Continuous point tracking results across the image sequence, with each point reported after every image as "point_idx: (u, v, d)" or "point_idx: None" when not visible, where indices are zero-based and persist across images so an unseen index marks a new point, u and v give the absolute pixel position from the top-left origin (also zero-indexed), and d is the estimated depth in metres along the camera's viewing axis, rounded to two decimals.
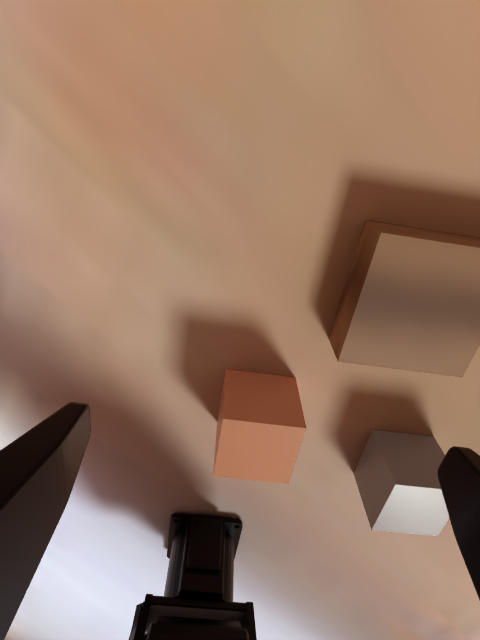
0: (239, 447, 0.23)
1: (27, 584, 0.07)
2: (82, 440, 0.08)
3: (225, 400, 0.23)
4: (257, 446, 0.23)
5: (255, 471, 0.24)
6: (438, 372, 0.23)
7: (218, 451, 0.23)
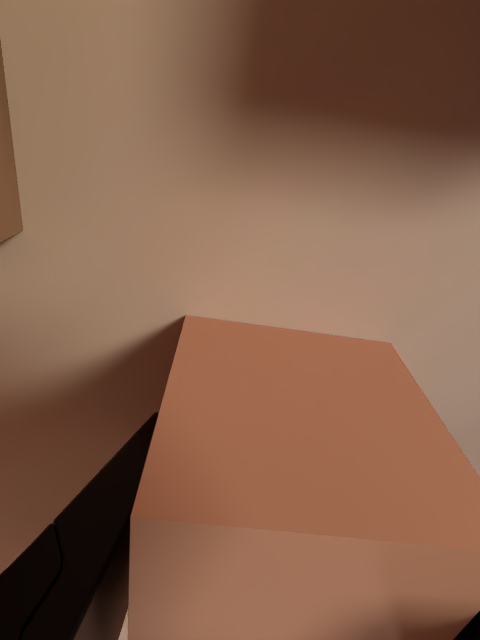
0: None
1: None
2: None
3: None
4: (254, 634, 0.06)
5: (401, 636, 0.06)
6: None
7: None
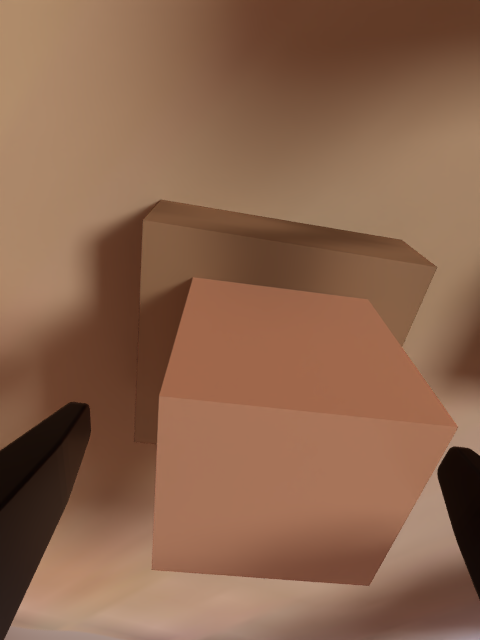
0: (259, 542, 0.08)
1: (28, 584, 0.07)
2: (82, 440, 0.08)
3: None
4: (253, 509, 0.07)
5: (368, 510, 0.07)
6: (410, 317, 0.11)
7: (272, 576, 0.08)
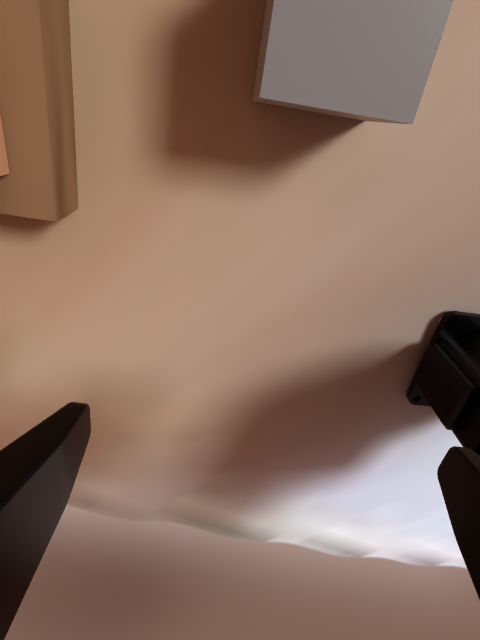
0: None
1: (28, 584, 0.07)
2: (82, 440, 0.08)
3: None
4: None
5: None
6: (37, 33, 0.13)
7: None
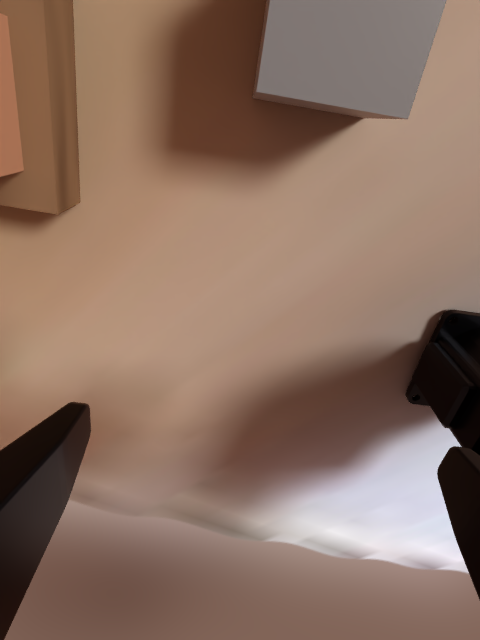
0: None
1: (28, 584, 0.07)
2: (82, 440, 0.08)
3: None
4: None
5: None
6: (41, 29, 0.13)
7: None
